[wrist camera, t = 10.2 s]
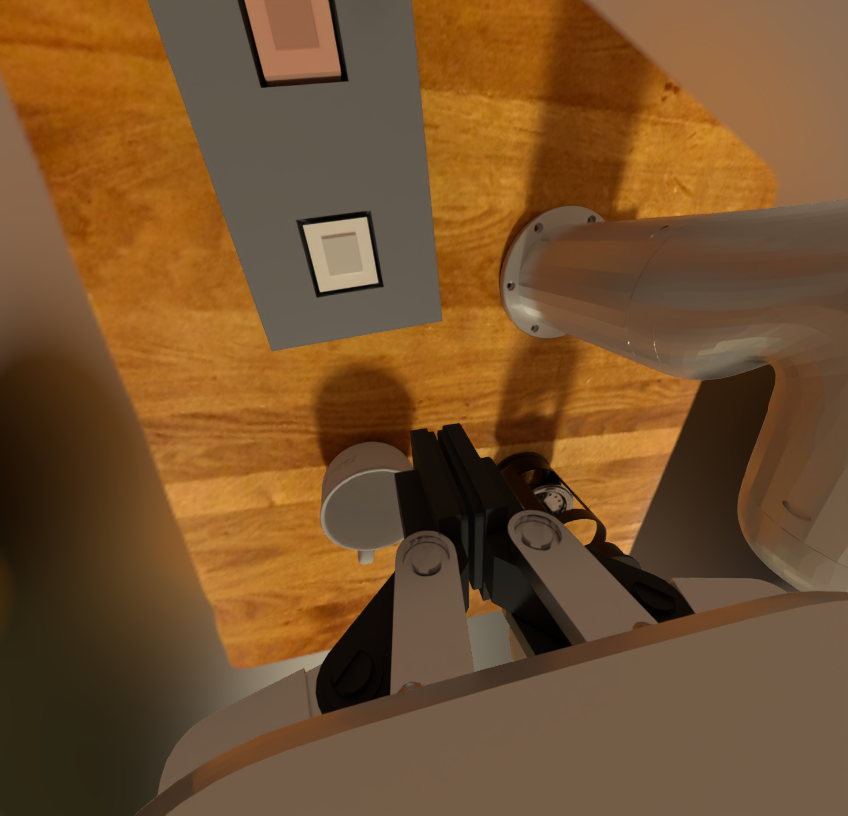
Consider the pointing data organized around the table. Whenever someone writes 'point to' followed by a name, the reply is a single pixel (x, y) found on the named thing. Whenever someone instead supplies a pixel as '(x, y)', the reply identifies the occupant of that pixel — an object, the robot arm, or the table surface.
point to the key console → (314, 163)
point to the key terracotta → (295, 41)
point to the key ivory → (341, 253)
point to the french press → (554, 499)
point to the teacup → (363, 498)
